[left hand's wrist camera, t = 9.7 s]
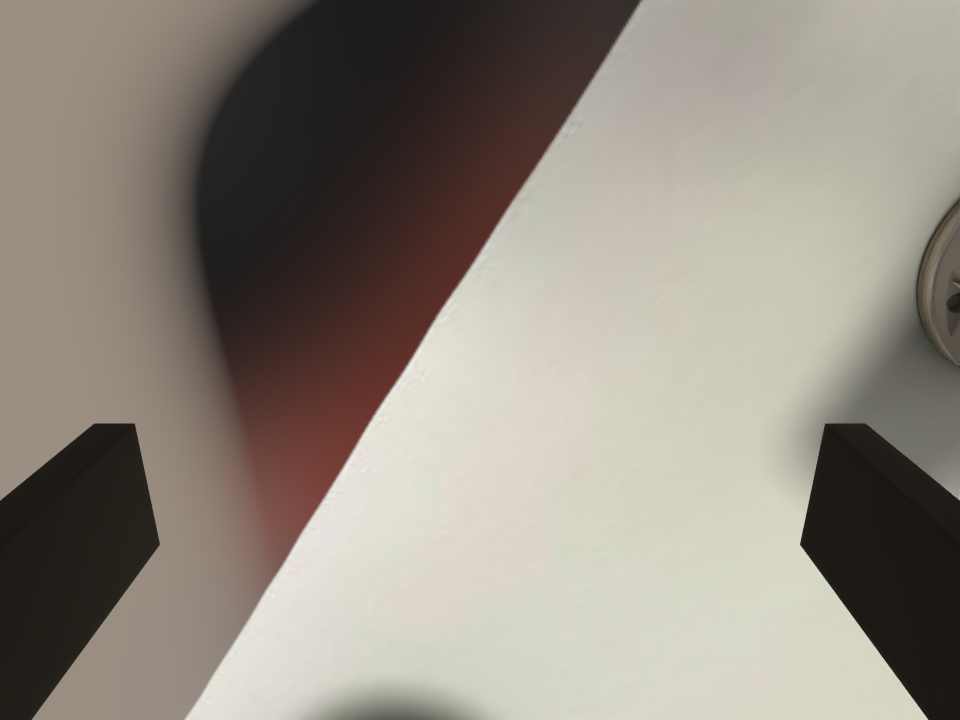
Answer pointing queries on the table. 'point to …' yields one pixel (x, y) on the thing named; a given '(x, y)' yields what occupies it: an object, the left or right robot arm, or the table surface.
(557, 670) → the table surface
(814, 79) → the table surface
